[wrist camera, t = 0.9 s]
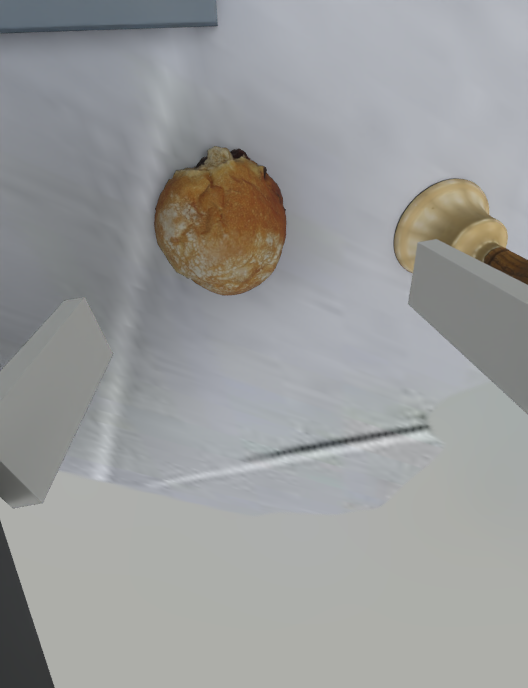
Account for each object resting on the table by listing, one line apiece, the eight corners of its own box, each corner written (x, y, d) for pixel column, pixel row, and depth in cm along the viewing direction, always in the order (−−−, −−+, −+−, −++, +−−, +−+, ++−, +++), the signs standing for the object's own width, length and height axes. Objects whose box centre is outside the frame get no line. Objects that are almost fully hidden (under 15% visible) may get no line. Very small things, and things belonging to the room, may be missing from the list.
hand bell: (441, 286, 31) (599, 400, 18) (375, 255, 29) (502, 361, 16) (506, 204, 27) (767, 272, 14) (436, 159, 25) (675, 193, 12)
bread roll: (157, 219, 28) (127, 283, 24) (192, 103, 21) (156, 166, 16) (254, 266, 32) (243, 329, 27) (315, 182, 24) (313, 251, 20)
